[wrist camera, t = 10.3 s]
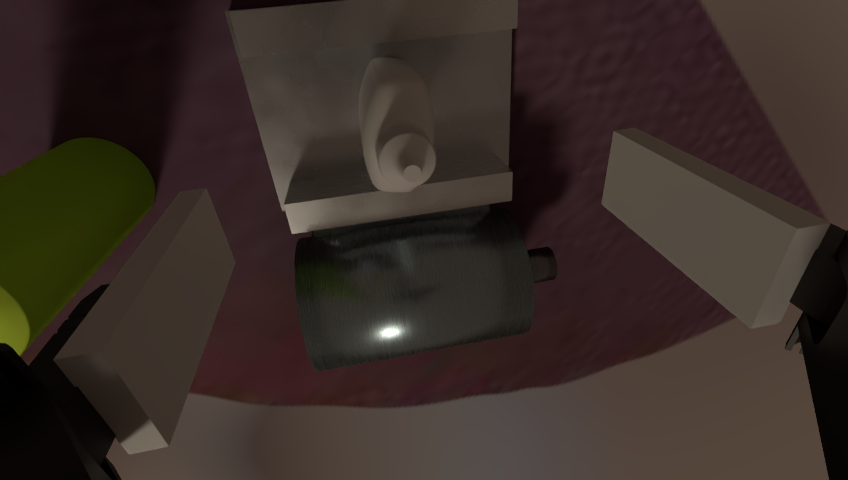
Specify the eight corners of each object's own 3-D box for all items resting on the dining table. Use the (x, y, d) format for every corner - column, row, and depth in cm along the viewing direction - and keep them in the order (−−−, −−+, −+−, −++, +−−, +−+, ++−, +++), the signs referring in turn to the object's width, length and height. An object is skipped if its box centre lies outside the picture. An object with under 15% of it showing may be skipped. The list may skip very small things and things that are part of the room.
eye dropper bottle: (332, 124, 26) (324, 205, 16) (380, 42, 24) (405, 73, 14) (391, 159, 28) (417, 253, 18) (440, 85, 26) (501, 142, 16)
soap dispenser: (162, 240, 29) (-90, 585, 12) (42, 204, 27) (-487, 577, 10) (182, 167, 27) (-90, 464, 10) (54, 120, 24) (-606, 412, 7)
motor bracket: (228, 10, 23) (173, 18, 15) (539, -20, 25) (627, -26, 17) (314, 313, 34) (307, 404, 27) (523, 277, 36) (572, 353, 29)
